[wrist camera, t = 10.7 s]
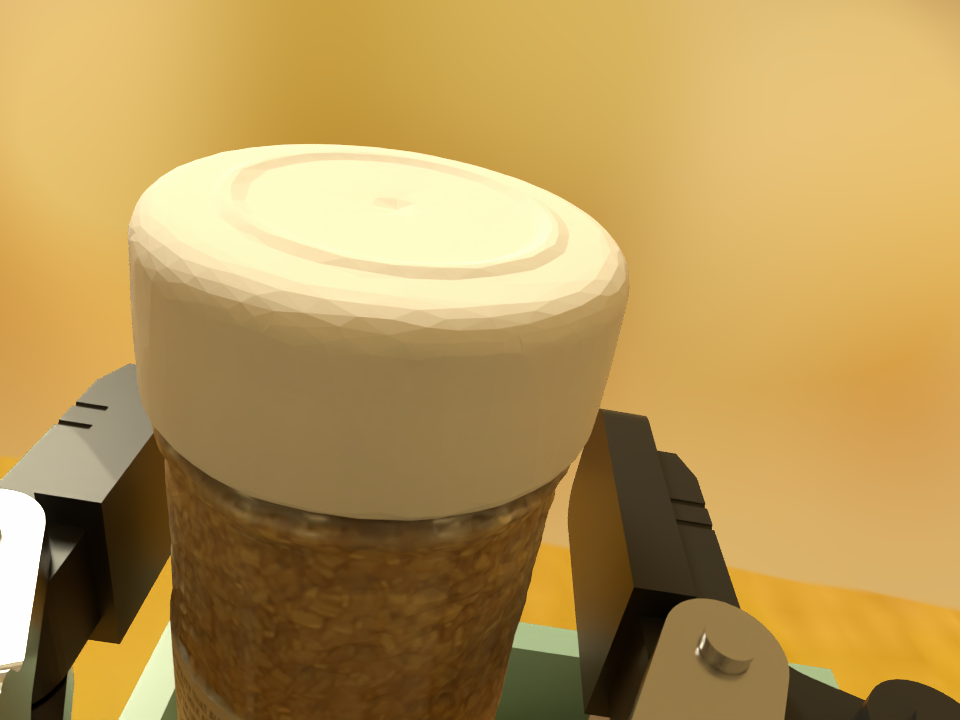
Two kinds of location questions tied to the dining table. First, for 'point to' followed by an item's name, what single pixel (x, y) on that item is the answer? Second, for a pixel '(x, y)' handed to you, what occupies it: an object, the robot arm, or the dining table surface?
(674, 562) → the robot arm
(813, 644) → the dining table surface
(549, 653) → the tray
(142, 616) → the dining table surface
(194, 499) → the sprinkles bottle
